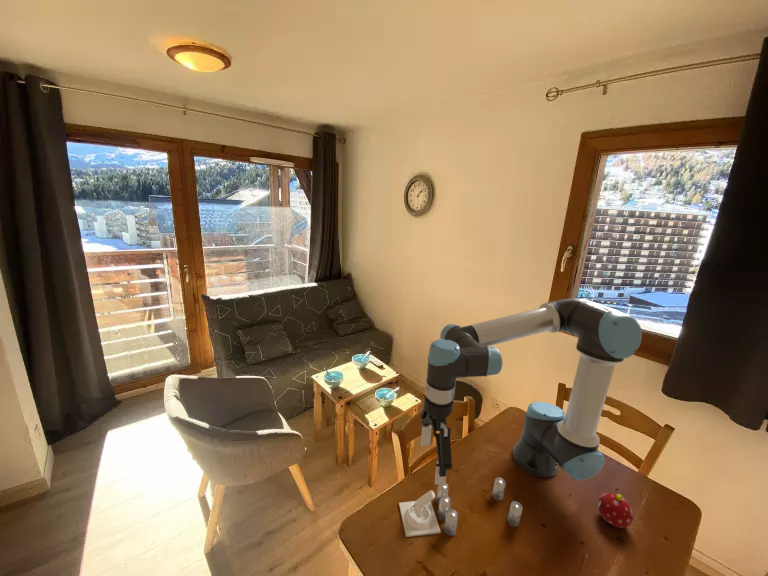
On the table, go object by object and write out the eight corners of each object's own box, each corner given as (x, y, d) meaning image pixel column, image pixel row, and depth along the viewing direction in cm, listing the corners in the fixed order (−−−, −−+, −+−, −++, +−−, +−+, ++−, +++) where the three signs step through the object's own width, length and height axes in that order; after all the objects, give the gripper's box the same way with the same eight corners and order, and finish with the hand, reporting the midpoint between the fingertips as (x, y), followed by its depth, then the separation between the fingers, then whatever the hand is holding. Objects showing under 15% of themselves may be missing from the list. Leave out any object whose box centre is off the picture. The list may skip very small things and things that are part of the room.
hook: (452, 517, 88) (434, 510, 86) (423, 537, 92) (405, 531, 90) (445, 490, 95) (429, 482, 92) (419, 509, 99) (402, 502, 96)
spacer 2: (446, 510, 97) (448, 494, 95) (449, 520, 94) (452, 504, 92) (436, 511, 96) (438, 495, 95) (439, 521, 93) (441, 505, 92)
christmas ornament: (633, 539, 91) (642, 512, 89) (599, 528, 94) (607, 501, 92) (623, 513, 99) (631, 488, 97) (591, 503, 102) (599, 478, 99)
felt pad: (430, 501, 99) (430, 499, 99) (440, 533, 90) (440, 531, 90) (398, 504, 98) (399, 502, 97) (406, 537, 88) (406, 535, 88)
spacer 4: (499, 491, 104) (502, 476, 103) (504, 500, 101) (507, 485, 100) (490, 492, 104) (493, 477, 102) (495, 501, 101) (498, 486, 99)
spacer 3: (453, 524, 92) (455, 508, 91) (457, 535, 89) (459, 519, 88) (442, 525, 92) (445, 509, 90) (446, 536, 89) (448, 520, 87)
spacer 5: (514, 515, 96) (518, 500, 95) (521, 526, 93) (524, 510, 92) (505, 517, 96) (508, 501, 94) (511, 527, 93) (515, 512, 91)
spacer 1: (444, 496, 101) (446, 481, 100) (447, 505, 98) (450, 490, 97) (434, 497, 101) (436, 482, 99) (438, 506, 98) (440, 491, 96)
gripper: (413, 372, 95) (408, 432, 101) (441, 430, 72) (432, 504, 77) (437, 371, 96) (431, 430, 102) (472, 428, 73) (461, 500, 78)
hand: (432, 462), depth 90 cm, fingers open, 13 cm apart
